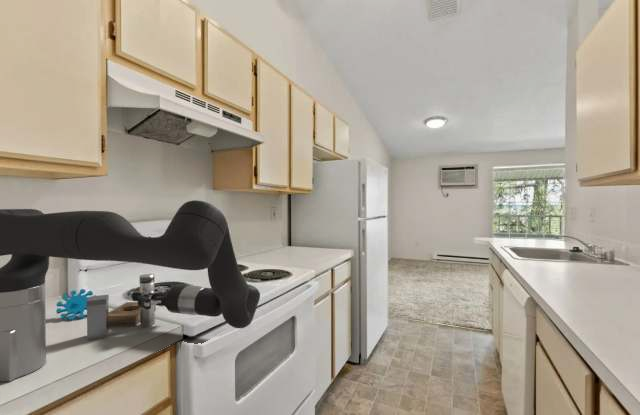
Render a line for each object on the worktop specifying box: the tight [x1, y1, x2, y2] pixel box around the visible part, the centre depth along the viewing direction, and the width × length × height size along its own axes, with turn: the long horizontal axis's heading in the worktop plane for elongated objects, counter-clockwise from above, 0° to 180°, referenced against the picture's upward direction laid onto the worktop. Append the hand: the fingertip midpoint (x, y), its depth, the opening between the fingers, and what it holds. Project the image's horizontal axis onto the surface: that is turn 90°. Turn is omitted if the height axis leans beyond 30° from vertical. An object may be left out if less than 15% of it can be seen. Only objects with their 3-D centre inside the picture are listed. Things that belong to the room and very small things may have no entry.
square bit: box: [86, 294, 110, 341], centre depth 80 cm, size 4×4×10 cm
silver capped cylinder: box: [139, 273, 156, 328], centre depth 87 cm, size 4×4×14 cm
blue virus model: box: [56, 288, 97, 321], centre depth 95 cm, size 11×6×10 cm
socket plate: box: [109, 301, 157, 328], centre depth 92 cm, size 12×9×3 cm
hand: (139, 294), depth 88 cm, fingers closed on silver capped cylinder, 3 cm apart
